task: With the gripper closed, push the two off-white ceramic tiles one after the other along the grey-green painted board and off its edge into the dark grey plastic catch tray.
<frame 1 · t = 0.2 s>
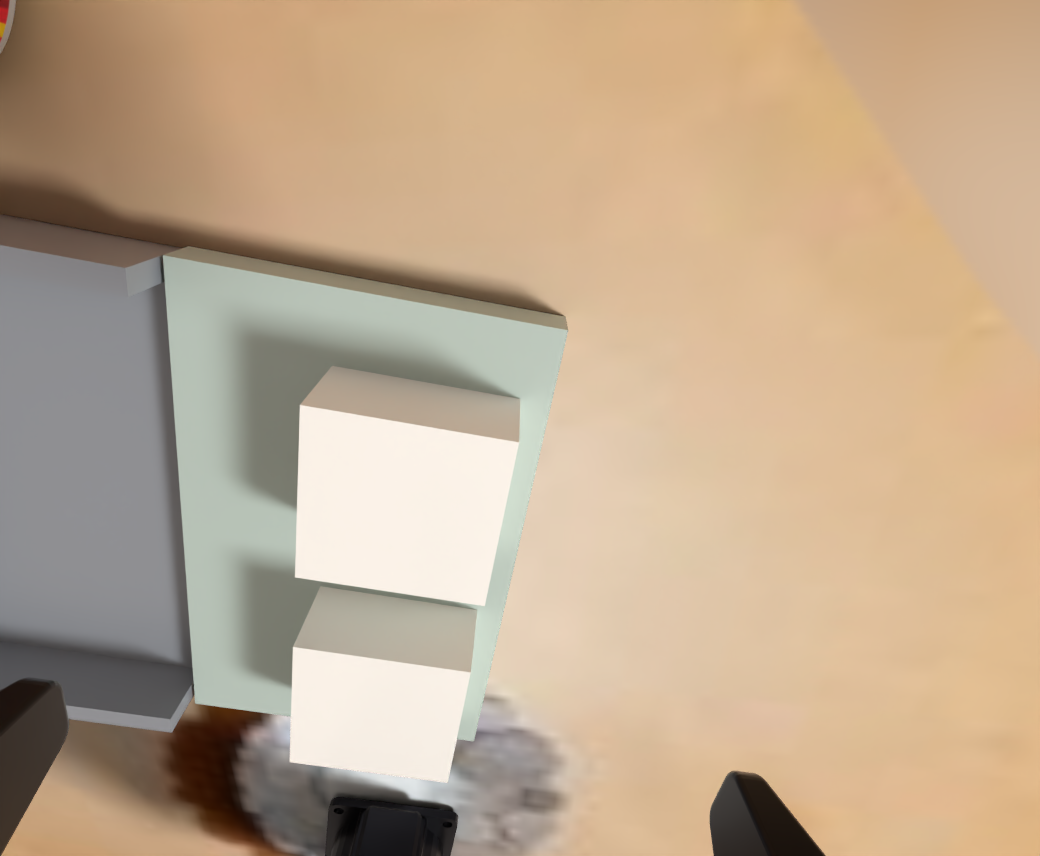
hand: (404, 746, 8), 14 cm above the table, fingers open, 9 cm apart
catch tray: (54, 475, 23), on the table
tile a: (392, 654, 25), point 1 cm above the table, touching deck
tile b: (416, 463, 21), point 1 cm above the table, touching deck
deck: (360, 524, 24), on the table
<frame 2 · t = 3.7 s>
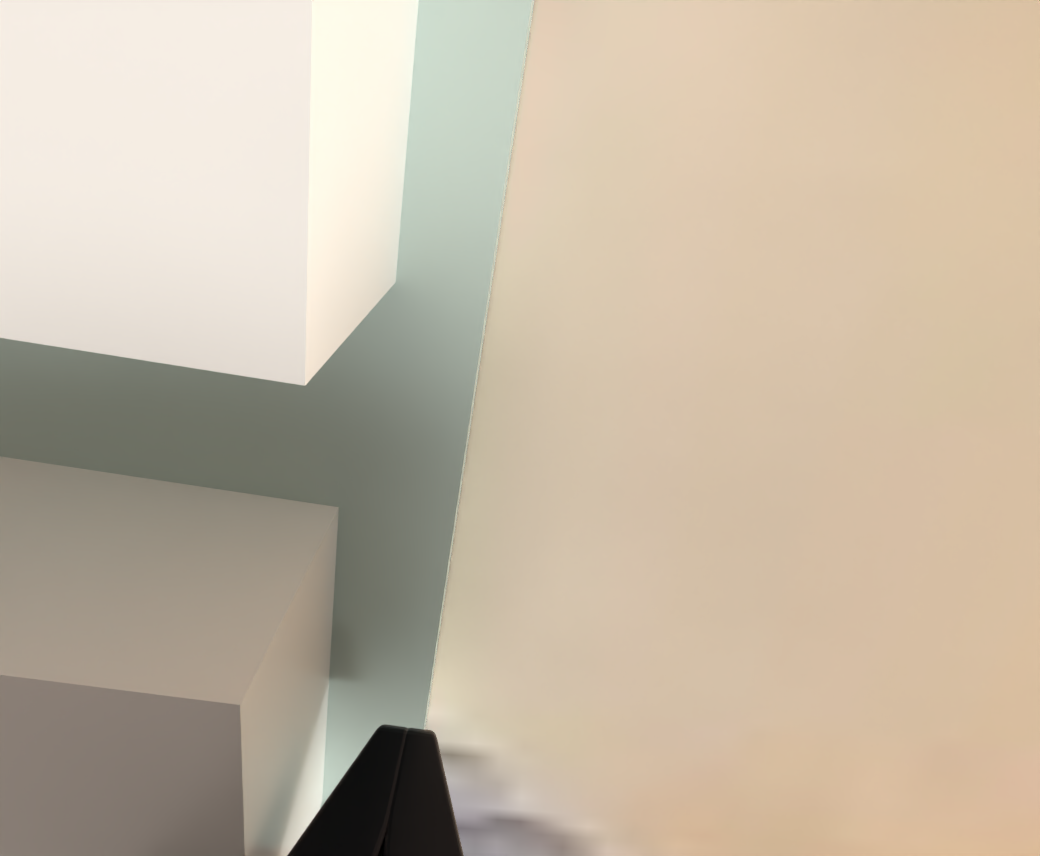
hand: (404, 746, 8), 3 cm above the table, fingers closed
tile a: (121, 647, 9), point 2 cm above the table, touching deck, gripper
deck: (29, 267, 8), on the table
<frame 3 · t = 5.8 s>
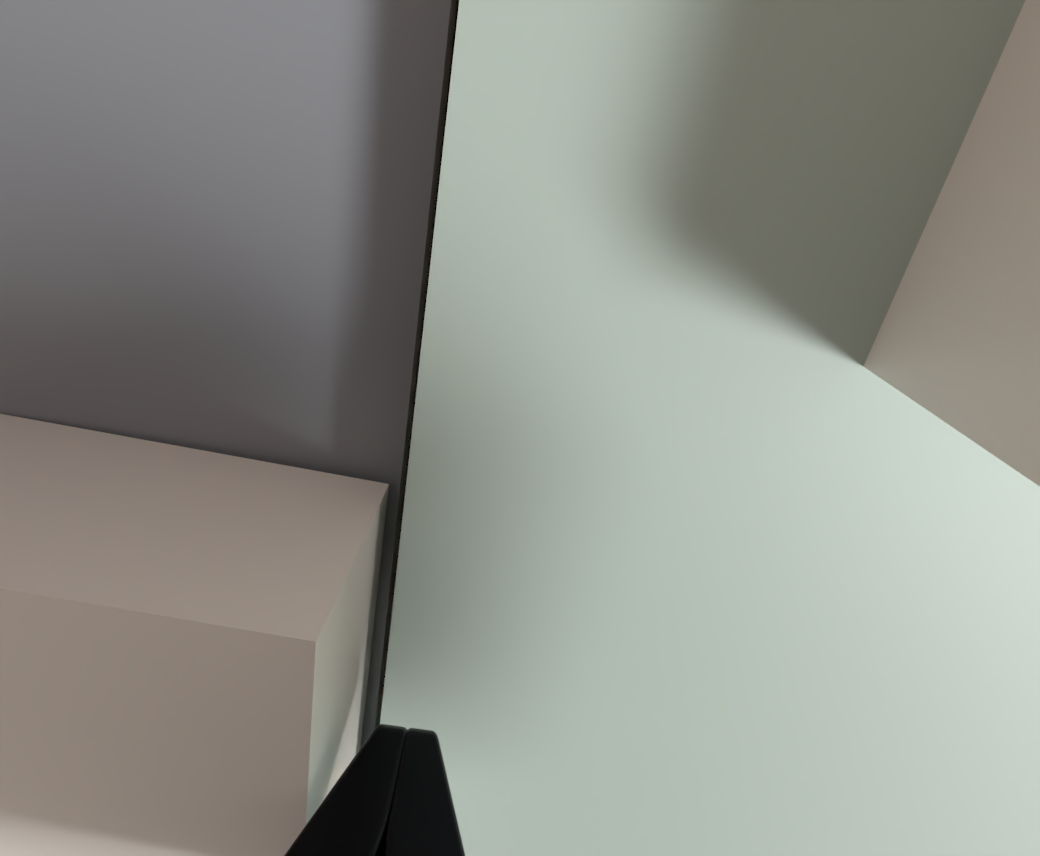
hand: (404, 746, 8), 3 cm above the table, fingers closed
catch tray: (28, 267, 8), on the table
tile a: (185, 609, 10), point 1 cm above the table
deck: (848, 407, 9), on the table
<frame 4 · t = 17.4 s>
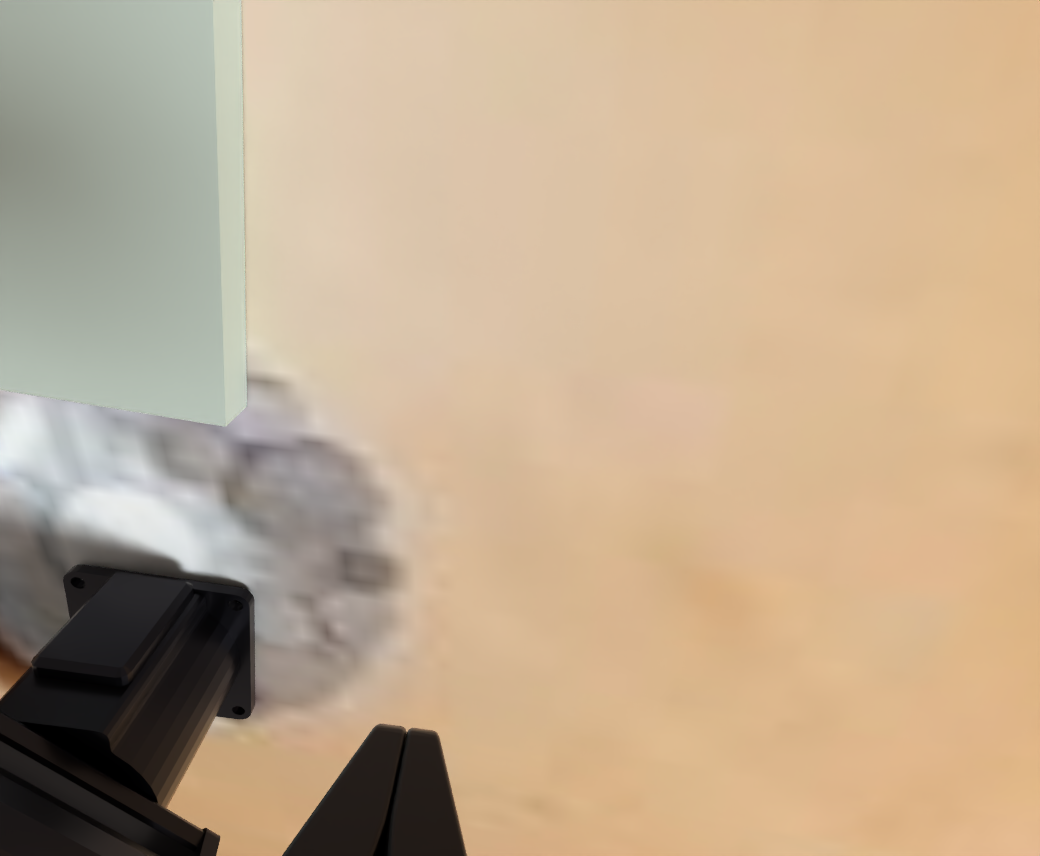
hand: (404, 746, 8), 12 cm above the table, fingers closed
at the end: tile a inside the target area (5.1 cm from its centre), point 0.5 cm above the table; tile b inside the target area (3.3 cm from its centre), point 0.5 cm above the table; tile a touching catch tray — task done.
